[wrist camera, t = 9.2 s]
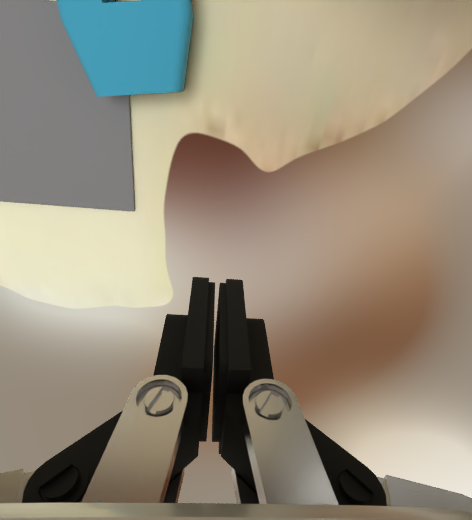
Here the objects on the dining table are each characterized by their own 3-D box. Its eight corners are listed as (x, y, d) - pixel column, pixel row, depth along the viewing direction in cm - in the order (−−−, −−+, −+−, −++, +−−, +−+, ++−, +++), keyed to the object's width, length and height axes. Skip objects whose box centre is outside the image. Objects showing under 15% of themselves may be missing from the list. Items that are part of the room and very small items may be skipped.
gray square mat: (125, 10, 36) (124, 9, 36) (134, 209, 47) (134, 211, 47) (-104, -18, 34) (-109, -19, 34) (-39, 196, 45) (-42, 198, 45)
